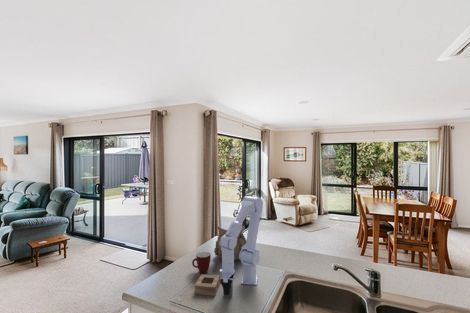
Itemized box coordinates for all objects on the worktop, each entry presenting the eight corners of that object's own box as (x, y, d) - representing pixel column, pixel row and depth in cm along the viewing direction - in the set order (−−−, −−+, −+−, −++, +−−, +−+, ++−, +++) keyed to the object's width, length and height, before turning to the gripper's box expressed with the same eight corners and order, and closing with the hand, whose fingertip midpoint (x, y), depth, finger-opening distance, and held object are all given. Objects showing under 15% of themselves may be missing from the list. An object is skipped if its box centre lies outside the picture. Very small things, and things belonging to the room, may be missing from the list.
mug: (191, 275, 128) (190, 257, 128) (193, 269, 136) (193, 251, 137) (210, 275, 129) (210, 257, 129) (211, 268, 137) (210, 251, 137)
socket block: (201, 282, 122) (201, 274, 122) (219, 283, 120) (219, 275, 120) (194, 294, 111) (194, 285, 111) (215, 295, 109) (215, 287, 110)
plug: (224, 292, 112) (224, 277, 112) (233, 292, 112) (232, 278, 112) (223, 297, 108) (223, 282, 109) (231, 297, 108) (231, 282, 108)
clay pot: (237, 269, 136) (237, 232, 136) (205, 260, 148) (205, 226, 148) (255, 254, 157) (255, 222, 158) (226, 247, 169) (226, 218, 169)
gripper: (222, 254, 118) (222, 281, 118) (216, 267, 104) (216, 298, 103) (236, 255, 117) (236, 282, 117) (232, 268, 103) (232, 299, 103)
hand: (228, 290), depth 110 cm, fingers open, 7 cm apart
